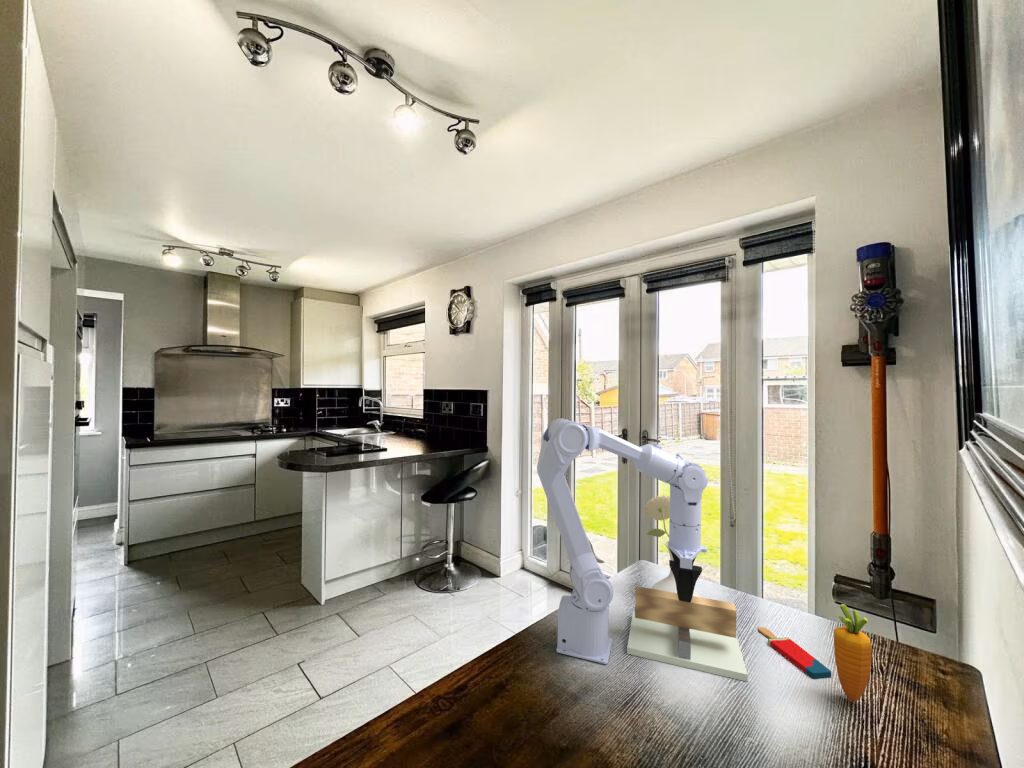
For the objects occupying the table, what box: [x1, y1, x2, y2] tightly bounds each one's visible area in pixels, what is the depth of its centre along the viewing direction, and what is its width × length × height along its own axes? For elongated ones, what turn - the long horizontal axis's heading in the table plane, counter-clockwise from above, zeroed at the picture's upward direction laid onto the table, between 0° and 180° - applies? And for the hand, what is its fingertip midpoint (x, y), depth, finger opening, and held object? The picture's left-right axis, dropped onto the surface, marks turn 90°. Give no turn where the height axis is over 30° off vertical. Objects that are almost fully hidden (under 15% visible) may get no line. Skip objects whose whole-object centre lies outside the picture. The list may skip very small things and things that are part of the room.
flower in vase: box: [643, 495, 701, 597], centre depth 99 cm, size 13×11×25 cm
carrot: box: [833, 603, 873, 703], centre depth 68 cm, size 5×5×15 cm
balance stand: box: [626, 610, 749, 683], centre depth 82 cm, size 20×14×4 cm
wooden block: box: [634, 586, 737, 638], centre depth 82 cm, size 18×3×5 cm, turn 70°
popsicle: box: [757, 626, 832, 680], centre depth 81 cm, size 4×2×15 cm
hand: (683, 591), depth 82 cm, fingers open, 7 cm apart
